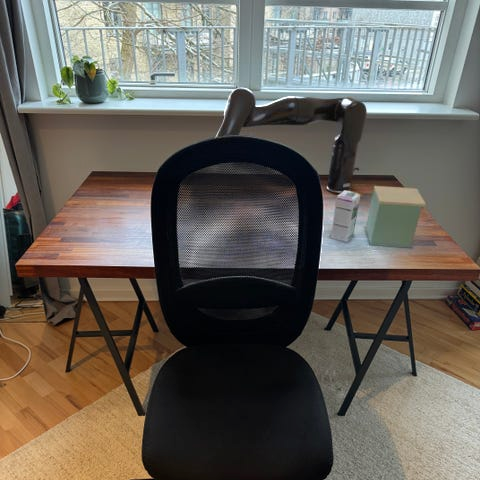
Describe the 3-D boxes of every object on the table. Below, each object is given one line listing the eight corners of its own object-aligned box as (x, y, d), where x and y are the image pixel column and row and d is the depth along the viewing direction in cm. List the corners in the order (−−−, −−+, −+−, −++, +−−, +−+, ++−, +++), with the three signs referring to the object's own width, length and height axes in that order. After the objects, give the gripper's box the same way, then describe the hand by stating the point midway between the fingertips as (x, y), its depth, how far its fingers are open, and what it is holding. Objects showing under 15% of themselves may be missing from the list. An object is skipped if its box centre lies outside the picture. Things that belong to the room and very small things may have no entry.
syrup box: (347, 242, 145) (355, 199, 136) (329, 237, 147) (336, 194, 139) (353, 236, 149) (361, 193, 140) (336, 231, 151) (343, 189, 143)
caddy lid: (416, 190, 145) (416, 188, 145) (425, 206, 135) (425, 204, 135) (373, 188, 146) (374, 185, 145) (379, 203, 136) (380, 201, 135)
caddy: (403, 230, 153) (413, 190, 145) (410, 247, 143) (422, 206, 135) (365, 227, 154) (373, 188, 146) (370, 245, 144) (379, 203, 136)
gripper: (261, 188, 148) (311, 191, 147) (258, 205, 137) (312, 209, 136) (262, 165, 144) (314, 168, 143) (259, 181, 132) (315, 184, 131)
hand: (313, 188), depth 139 cm, fingers open, 8 cm apart
